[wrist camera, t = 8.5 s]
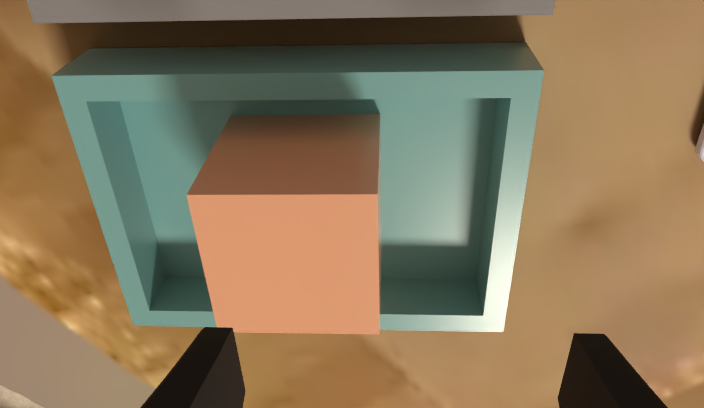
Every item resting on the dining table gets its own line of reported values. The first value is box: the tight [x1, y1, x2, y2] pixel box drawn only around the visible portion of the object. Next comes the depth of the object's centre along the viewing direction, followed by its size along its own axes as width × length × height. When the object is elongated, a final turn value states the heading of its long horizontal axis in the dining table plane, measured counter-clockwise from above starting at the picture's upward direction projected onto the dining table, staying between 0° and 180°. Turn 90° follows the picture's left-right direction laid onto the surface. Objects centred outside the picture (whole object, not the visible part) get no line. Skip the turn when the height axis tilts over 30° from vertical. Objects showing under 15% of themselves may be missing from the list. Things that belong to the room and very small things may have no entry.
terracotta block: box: [187, 114, 382, 334], centre depth 18 cm, size 5×5×5 cm
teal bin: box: [52, 42, 544, 332], centre depth 20 cm, size 14×10×2 cm
